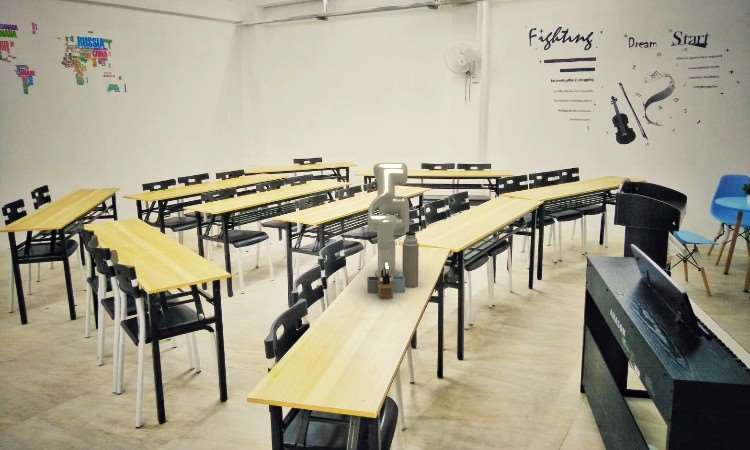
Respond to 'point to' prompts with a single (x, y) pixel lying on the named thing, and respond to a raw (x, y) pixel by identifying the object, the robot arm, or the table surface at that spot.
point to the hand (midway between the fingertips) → (385, 280)
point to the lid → (381, 285)
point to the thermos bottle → (410, 260)
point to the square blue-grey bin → (398, 283)
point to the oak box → (385, 293)
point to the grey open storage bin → (372, 284)
